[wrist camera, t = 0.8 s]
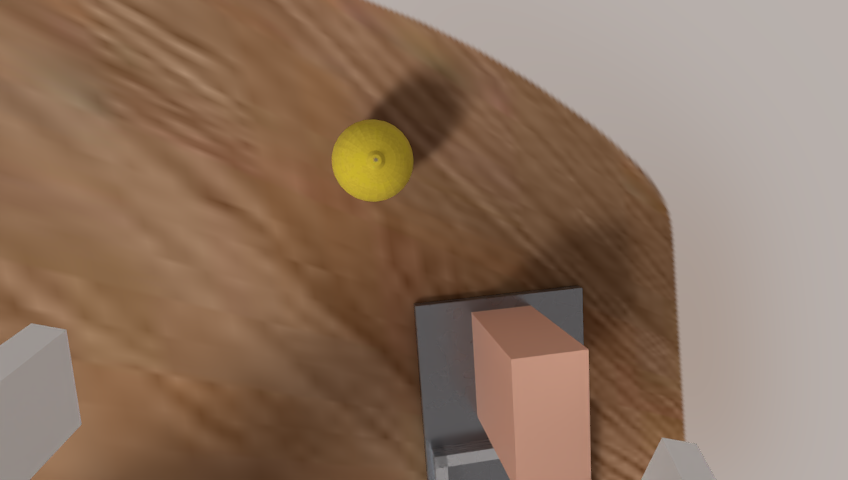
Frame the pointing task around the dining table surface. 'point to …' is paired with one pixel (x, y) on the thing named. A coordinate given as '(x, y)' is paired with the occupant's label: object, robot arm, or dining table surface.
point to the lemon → (372, 160)
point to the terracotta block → (532, 394)
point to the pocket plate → (470, 376)
